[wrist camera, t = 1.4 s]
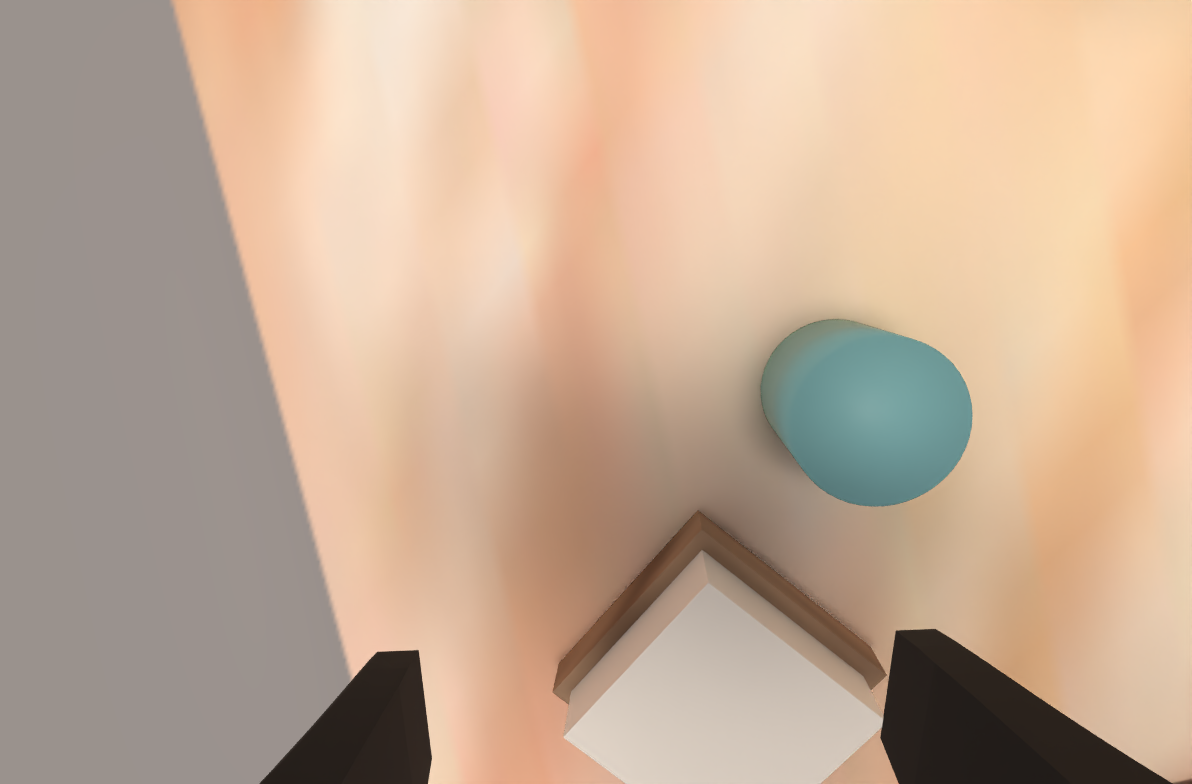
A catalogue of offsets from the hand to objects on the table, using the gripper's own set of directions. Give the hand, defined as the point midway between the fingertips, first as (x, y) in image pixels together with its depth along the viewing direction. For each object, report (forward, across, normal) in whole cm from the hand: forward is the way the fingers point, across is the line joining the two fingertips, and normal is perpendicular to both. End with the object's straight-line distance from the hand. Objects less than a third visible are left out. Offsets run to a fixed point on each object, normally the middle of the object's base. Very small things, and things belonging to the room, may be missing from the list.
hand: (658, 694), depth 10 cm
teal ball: (+12, -7, -1) cm, 14 cm away
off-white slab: (+10, -3, +9) cm, 14 cm away
